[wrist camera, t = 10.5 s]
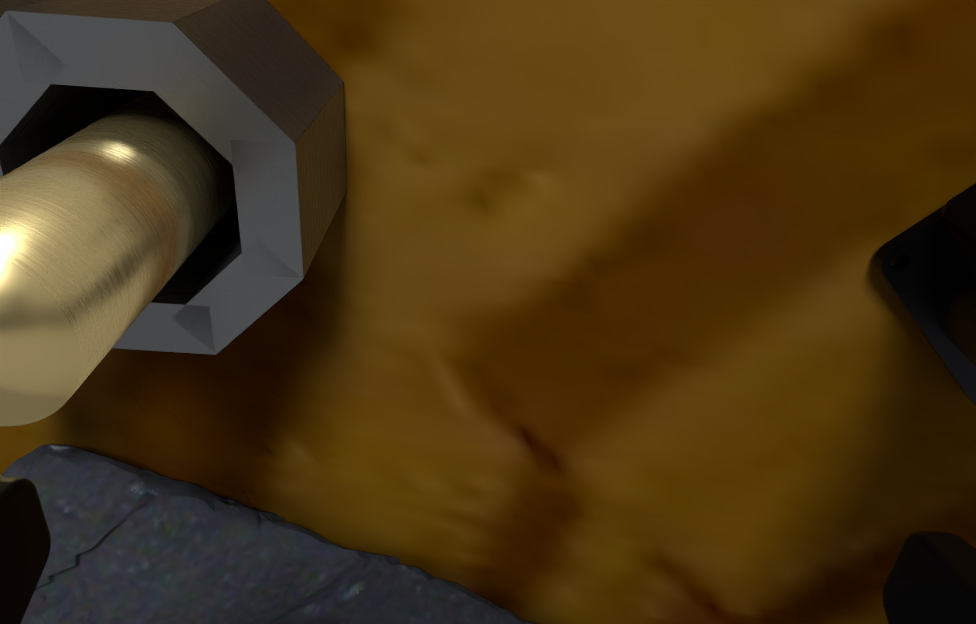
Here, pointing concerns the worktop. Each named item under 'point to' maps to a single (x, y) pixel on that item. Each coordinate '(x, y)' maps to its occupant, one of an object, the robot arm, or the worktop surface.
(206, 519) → the dark slate chunk
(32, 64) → the grey hollow finned part
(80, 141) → the brass pin
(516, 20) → the worktop surface
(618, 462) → the worktop surface
